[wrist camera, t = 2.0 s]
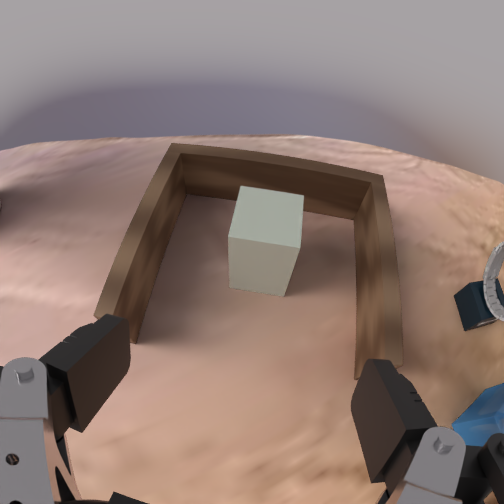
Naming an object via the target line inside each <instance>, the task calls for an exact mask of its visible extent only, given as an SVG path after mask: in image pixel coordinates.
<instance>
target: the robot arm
mask: <svg viewBox="0 0 504 504" xmlns="http://www.w3.org/2000/svg"><path fill="white" fill-rule="evenodd" d="M0 209H1V199H0ZM130 359H131V356H130V330H129V321H128V320H127V319H126V318H123V317H119V316H115V315H111V314H105V315H104V316H102V317H101V318H100V319H99V320H97V321H96V322H95V323H94V324H93V323H90V324H88V325H85V326H82V327H79V328H78V329H77V330H75V331H74V332H73V333H71V334H70V336H68V337H66V338H65V339H64V340H63V342H60V343H59V344H57V345H56V346H55V347H54V348H52V349H51V350H50V351H49V352H47V353H46V354H45V355H44V356H42V357H41V358H40V359H39V360H37V359H34V358H27V357H24V358H17V359H14V360H12V361H10V362H8V363H7V364H6V365H5V366H4V367H3V366H0V504H148V503H145V502H142V501H139V500H136V499H133V498H130V497H127V496H124V495H122V494H119V493H116V492H113V494H112V496H111V498H110V500H109V501H102V500H82V498H81V495H80V493H79V490H78V488H77V485H76V481H75V477H74V473H73V468H72V464H71V459H70V454H69V449H68V443H67V438H66V435H65V432H66V431H67V429H68V428H69V427H70V428H72V429H74V430H77V431H79V432H81V433H83V431H84V430H85V428H86V427H87V426H88V424H89V423H90V422H91V420H92V419H93V418H94V416H95V415H96V414H97V412H98V411H99V410H100V408H101V407H102V406H103V404H104V403H105V402H106V400H107V399H108V398H109V396H110V395H111V394H112V392H113V391H114V390H115V388H116V387H117V386H118V384H119V383H120V382H121V380H122V379H123V378H124V376H125V375H126V374H127V372H128V369H129V366H130ZM351 412H352V416H353V419H354V423H355V426H356V430H357V433H358V437H359V440H360V444H361V447H362V451H363V455H364V458H365V462H366V466H367V469H368V473H369V477H370V481H371V483H379V482H385V483H386V488H385V489H384V491H383V492H382V493H381V495H380V497H379V498H378V500H377V502H376V503H375V504H485V503H484V501H483V500H484V499H485V498H486V497H487V496H488V495H489V494H490V493H491V492H492V491H493V492H494V494H495V496H496V498H497V501H498V503H499V504H504V433H496V434H493V435H491V436H490V437H489V439H488V440H487V442H486V443H485V444H484V446H470V445H465V442H464V440H463V438H462V437H461V436H460V435H459V434H458V433H456V432H455V431H453V430H451V429H449V428H445V427H438V426H437V424H436V422H435V421H434V419H433V417H432V416H431V414H430V412H429V411H428V409H427V407H426V406H425V404H424V402H422V399H421V397H420V396H419V394H417V391H416V389H415V387H414V386H413V384H412V383H411V382H410V381H409V380H408V379H407V378H405V377H404V376H403V375H402V374H398V372H397V370H396V369H395V367H394V365H393V364H392V362H391V361H390V360H386V359H368V360H367V361H366V362H365V364H364V367H363V370H362V372H361V375H360V378H359V380H358V383H357V385H356V388H355V391H354V393H353V396H352V400H351Z"/></svg>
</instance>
